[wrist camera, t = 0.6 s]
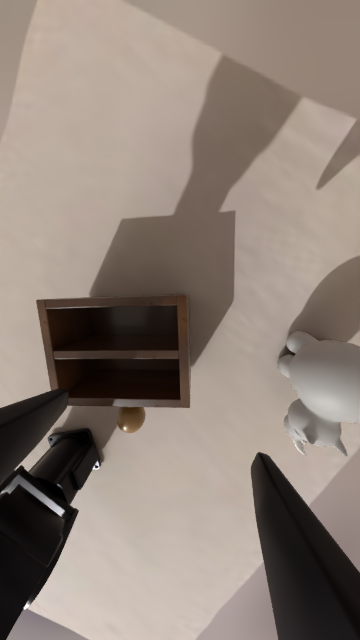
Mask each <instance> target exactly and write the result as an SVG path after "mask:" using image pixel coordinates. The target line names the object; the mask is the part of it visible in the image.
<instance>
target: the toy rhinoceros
mask: <svg viewBox="0 0 360 640" xmlns="http://www.w3.org/2000/svg"><path fill="white" fill-rule="evenodd" d="M286 345H287V347H288V348H289V350H290V351H292V352H293V353H296V355H295V356H294V355H290V354H289V355H284V356H282V357H281V358H280V359H279V360H278V363H277V365H278V369H279V371H280V372H281V373H282V374H283V375H285V376H286V377H288V378H290V382H291V385H292V387H293V389H294V391H295V392H296V394H297V395H298V397H299V398H300V399H297V400H295V401H294V402H293V403H292V404H291V405H290V407H289V409H288V415H287V416H286V417H285V419H284V427H285V430H286V433H287V434H288V435H289V436H291V437H292V439H293V442H294V444H295V446H296V448H297V449H298V450H299V451H300V452H301V453H302V454H304V455H306V453H305V451H304V448H303V444H304V445H306V442H309V444H315V445H318V446H322V447H327V446H333V447H335V448H336V449H337V450H338V451H339V452H340V453H341V454H342V455H343V456H347V452H346V449H345V447H344V445H343V443H342V441H341V440H340V435H341V426H340V423H341V422H347V423H360V347H359V346H357V345H354V344H351V343H347V342H343V341H334V340H331V339H325V340H321V341H318V340H316V339H315V338H314V337H312V336H311V335H309V334H307V333H305V332H301V331H296V332H293V333H292V334H290V335H289V336H288V338H287V340H286Z"/></svg>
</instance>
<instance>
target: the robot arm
mask: <svg viewBox="0 0 360 640" xmlns="http://www.w3.org/2000/svg"><path fill="white" fill-rule="evenodd" d="M68 396H69V392H68V390H65V389H62V388H58V389H55V390H52V391H49V392H46V393H43V394H40V395H37V396H34V397H32V398H29V399H26V400H23V401H20V402H17V403H14V404H11V405H8V406H5V407H2V408H0V640H6V639H7V637H8V635H9V633H10V631H11V629H12V628H13V626H14V624H15V622H16V621H17V619H18V617H19V616H20V614H21V612H22V611H23V609H27V608H28V607H29V606H30V605H31V603H32V602H33V601H34V600H35V598H36V597H37V595H38V594H39V592H40V591H41V589H42V588H43V586H44V585H45V583H46V581H47V579H48V578H49V576H50V574H51V573H52V571H53V569H54V567H55V565H56V563H57V561H58V559H59V557H60V555H61V552H62V550H63V548H64V545H65V543H66V540H67V538H68V536H69V533H70V531H71V529H72V526H73V524H74V521H75V519H76V517H77V514H78V512H79V510H77V509H76V508H75V509H74V508H73V507H72V506H70V504H71V502H72V500H73V499H74V497H75V495H76V493H77V492H78V490H81V488H82V487H83V485H84V483H85V482H86V480H87V478H88V476H89V475H90V473H91V471H92V470H97V469H99V468H100V466H101V462H100V459H99V456H98V453H97V450H96V447H95V444H94V441H93V438H92V435H91V432H90V430H89V429H81V430H75V431H68V432H62V433H55V434H51V435H50V436H49V437H48V441H49V444H50V446H51V448H50V449H49V450H48V451H47V452H46V453H45V454H44V455H43V456H42V457H41V458H40V460H39V461H38V462H37V463H36V464H35V465H34V466H33V467H32V468H31V469H30V470H29V472H28V471H26V470H25V469H24V467H23V466H22V465H21V466H20V467H19V468H17V469H16V470H14V469H15V468H16V467H17V466H18V465H19V464H20V463H21V462H22V461H23V460H24V459H25V458H26V457H27V455H28V454H29V453H30V452H31V451H32V450H33V449H34V448H35V447H36V446H37V445H38V443H39V442H40V441H41V440H42V439H43V437H44V436H45V435H46V434H47V432H48V431H49V430H50V428H51V427H52V426H53V425H54V423H55V422H56V421H57V420H58V418H59V417H60V416H61V415H62V413H63V412H64V411H65V409H66V408H67V405H68ZM251 478H252V487H253V496H254V506H255V514H256V522H257V527H258V533H259V538H260V544H261V549H262V554H263V560H264V565H265V570H266V576H267V581H268V586H269V592H270V597H271V602H272V608H273V613H274V618H275V624H276V629H277V634H278V640H360V573H359V571H358V570H357V569H356V567H355V566H354V565H353V563H352V562H351V561H350V560H349V558H348V557H347V556H346V554H345V553H344V552H343V550H342V549H341V548H340V547H339V545H338V544H337V543H336V542H335V540H334V539H333V538H332V536H331V535H330V534H329V532H328V531H327V530H326V529H325V527H324V526H323V525H322V523H321V522H320V521H319V520H318V519H317V517H316V516H315V514H314V513H313V512H312V511H311V509H310V508H309V507H308V505H307V504H306V503H305V501H304V500H303V499H302V498H301V496H300V495H299V494H298V492H297V491H296V490H295V489H294V487H293V486H292V485H291V483H290V482H289V481H288V480H287V478H286V477H285V476H284V474H283V473H282V472H281V471H280V469H279V468H278V467H277V465H276V464H275V463H274V462H273V460H272V459H271V458H270V456H268V455H267V454H264V453H261V452H258V453H257V455H256V457H255V459H254V461H253V463H252V465H251Z"/></svg>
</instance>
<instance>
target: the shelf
mask: <svg viewBox="0 0 360 640" xmlns="http://www.w3.org/2000/svg"><path fill="white" fill-rule="evenodd" d="M36 302H37V308H38V314H39V320H40V326H41V332H42V338H43V344H44V350H45V356H46V363H47V369H48V375H49V381H50V387H51V391H52V390H55V389H58V388H62V389H65V390H68V392H69V396H68V406H120V407H121V408H120V410H119V412H118V414H117V424H118V427H119V428H120V429H121V430H122V431H123V432H126V433H133V432H135V431H137V430H138V429H140V427H141V426H142V425H143V423H144V420H145V410H144V408H143V407H172V408H190V381H191V364H190V323H189V294H175V295H145V296H114V297H84V298H63V299H43V300H36Z"/></svg>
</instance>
